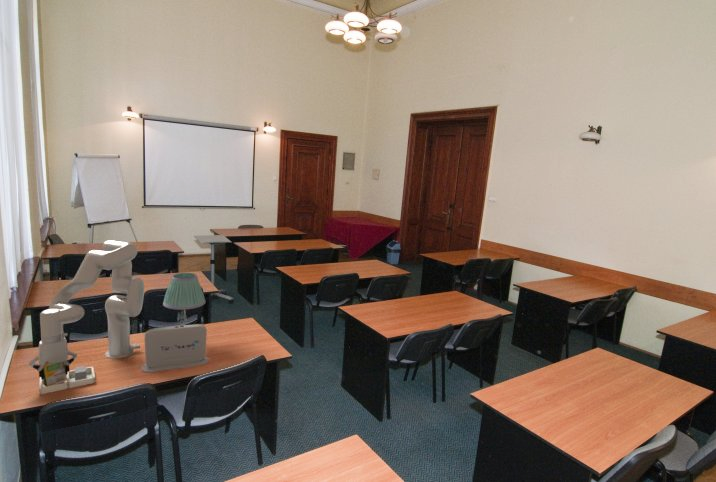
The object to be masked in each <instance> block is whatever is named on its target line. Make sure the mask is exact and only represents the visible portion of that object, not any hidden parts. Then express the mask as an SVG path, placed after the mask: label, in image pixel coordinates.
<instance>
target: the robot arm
mask: <svg viewBox="0 0 716 482" xmlns="http://www.w3.org/2000/svg"><path fill="white" fill-rule="evenodd" d="M138 251H139V250H138V247H137V245H136V244H134V243H132V242H127V241H126V242H125V241H120V240H110V239H108V240H106V241H104V242H103V243H102V246H101V249H92V250H89V251H88V252H87V253H86V254H85V256H84V259H82V262H81V263H80V266H79V268H78V270H77V271H76V273H75V275H74V277H73V279H72V280H70V281H69V282H67V283H66V284H65V285H64V286H62V287H61V288H60V289H59V290H58V291H57V292H56V293H55V295H54V296H53V298H52V300H51V302H50V304H49V306H48V308H47V309H44V310H42V311H41V312H40V313H39V321H40V322H39V324H40V338H41V340H40V341H39V343H38V354H37V355H36V356H35V357H33V359H31V360H30V361H29V362H28V365H30V366H31V368H33V369H35V370H37V371H38V378H40V377H41V380H42V379H44V376H43V367H44V365H46V364H45V362H47V361H48V362H49V363H50V364H54V363H60V362H64V363H65V372H66V375H67V374H68V372H69V371H70V365H71V364H72V363H73V362H74V360H75V359H76V358H77V357H78V353H76V352H74V351H71V350H69V347H68V342H67V338H66V337H68V332H65V331H64V325H65V324H71V323H76V322H77V321H80V320H81V319H82V318H83V317H84V316H85V309H84V308H83V307H82V306H81V305H78V304H74V303H69V302H70V299H72V298H73V296H74V295H76V294H77V293H79V292H80V291H81V292H82V291H83V290H86V289H90V288H92V287H94V286H95V285H96V282H97V280H98V279H99V277H100V274H101V272H102V271H103V270H106V271H111V270H112V271H111V280H110V289H111V291H113V292H114V293H119V294H113V295H111V296H109V297H108V298H107V299H106V300H105V304H104V309H105V313H106V316H107V317H106V318H107V336H108V338H107V339H108V340H107V343H108V344H107V346H108V348H107V349H108V350H107V351H106V352H105V353H104V356H105V357H106V358H107V359H122V358H125V357H128V358H129V357H131V355H133V354H134V350H137V349H141V344H138V343H133V344H132V343H131V341H130V340H131V337H130V335H131V334H130V333H131V332H130V331H131V330H130V325H131V323H130V317H131V318H135V317H137V316H139V315H140V313H141V311H142V309H143V304H144V295H145V282H144V280H143V279H142V278H141V277H139V276H137V275H136V276H134V275H132V269H133V263H132V260H134V259H135V258H136V257H137V255H138ZM120 294H122V295H120ZM69 356H71V357H70V358H69ZM36 362H38V364H37V363H36Z"/></svg>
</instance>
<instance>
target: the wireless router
mask: <svg viewBox="0 0 716 482" xmlns="http://www.w3.org/2000/svg"><path fill="white" fill-rule="evenodd" d="M207 331H208V330H207V327H206V326H205V325H204V324H202V323H195V324H186V325H184V324H182V325H175V326H166V327H165V326H164V327H163V326H162V327H157V328H156V327H154V328H150V329H148V330H146V332H144V350H145V351H144V355H145V363H144V364H143V365H141V367H140V371H142V372H143V373H157V372H158V373H159V372H162V371H164V372H165V371H171V370H177V369H184V368H191V367H193V368H194V367H199V366H204V365H206V364H207V363H209V361H210V359H209V356H206V349H207V347H206V345H207Z"/></svg>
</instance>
